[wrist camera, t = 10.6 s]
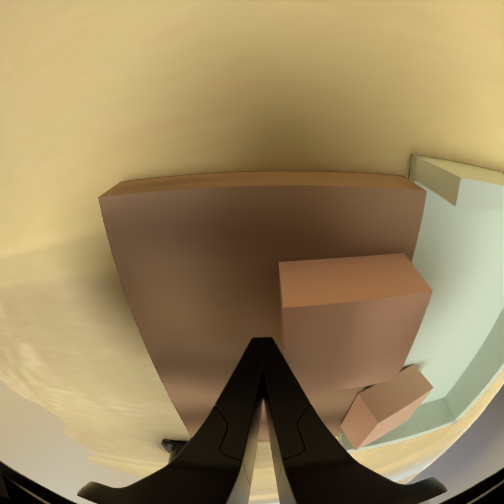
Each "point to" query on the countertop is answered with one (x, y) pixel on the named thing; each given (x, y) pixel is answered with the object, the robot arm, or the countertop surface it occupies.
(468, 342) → the sage tray
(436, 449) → the countertop surface
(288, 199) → the walnut board
